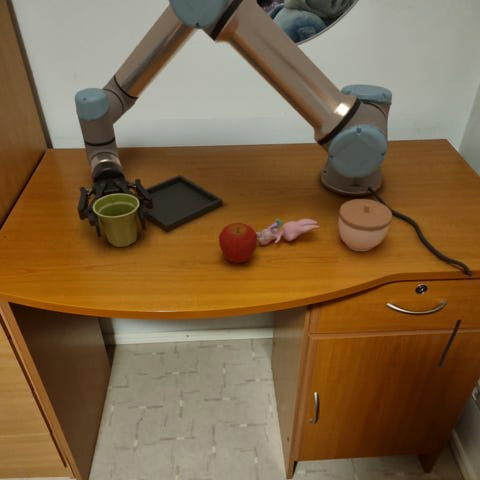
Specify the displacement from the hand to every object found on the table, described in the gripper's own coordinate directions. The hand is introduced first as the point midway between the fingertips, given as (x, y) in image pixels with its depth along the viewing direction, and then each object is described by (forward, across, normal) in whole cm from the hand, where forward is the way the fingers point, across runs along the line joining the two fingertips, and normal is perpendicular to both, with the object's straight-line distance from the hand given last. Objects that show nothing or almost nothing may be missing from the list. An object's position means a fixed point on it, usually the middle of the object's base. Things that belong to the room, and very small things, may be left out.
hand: (121, 227), depth 98 cm
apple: (+9, -22, -6) cm, 25 cm away
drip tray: (-15, -14, -6) cm, 22 cm away
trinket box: (+12, -49, -6) cm, 51 cm away
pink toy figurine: (+6, -34, -6) cm, 35 cm away
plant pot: (-5, 0, -6) cm, 8 cm away
